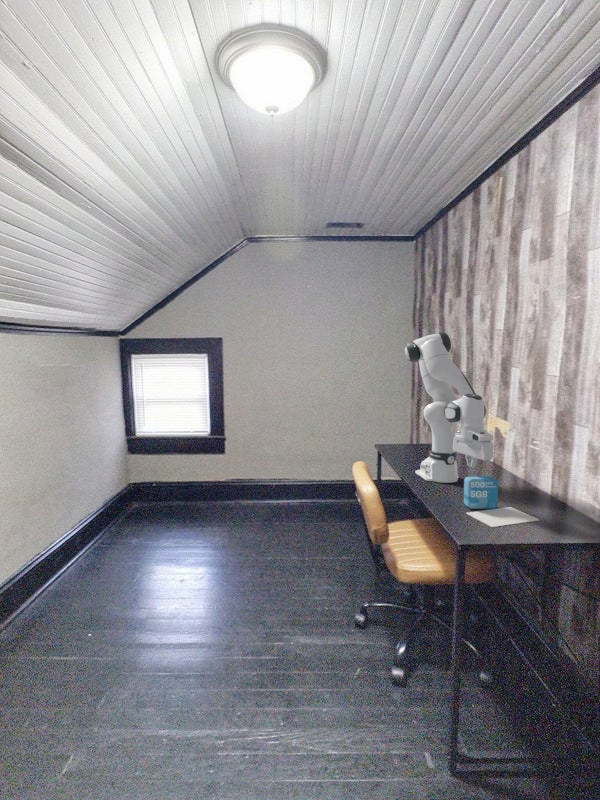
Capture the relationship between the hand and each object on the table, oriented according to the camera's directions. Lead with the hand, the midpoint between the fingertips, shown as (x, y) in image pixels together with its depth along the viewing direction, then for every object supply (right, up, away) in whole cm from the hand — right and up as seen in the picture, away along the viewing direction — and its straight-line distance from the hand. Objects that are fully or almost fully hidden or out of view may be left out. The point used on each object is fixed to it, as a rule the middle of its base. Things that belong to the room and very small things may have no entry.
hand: (471, 466), depth 176 cm
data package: (+2, -16, -4) cm, 17 cm away
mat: (+6, -17, -14) cm, 23 cm away
